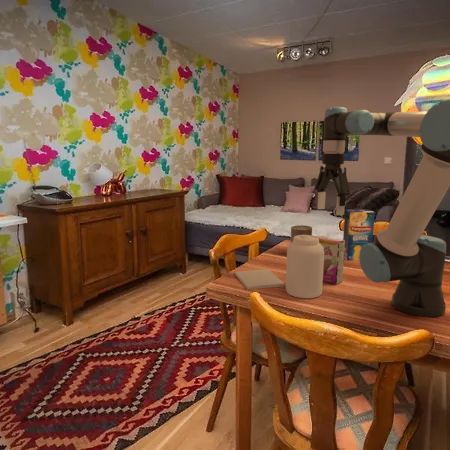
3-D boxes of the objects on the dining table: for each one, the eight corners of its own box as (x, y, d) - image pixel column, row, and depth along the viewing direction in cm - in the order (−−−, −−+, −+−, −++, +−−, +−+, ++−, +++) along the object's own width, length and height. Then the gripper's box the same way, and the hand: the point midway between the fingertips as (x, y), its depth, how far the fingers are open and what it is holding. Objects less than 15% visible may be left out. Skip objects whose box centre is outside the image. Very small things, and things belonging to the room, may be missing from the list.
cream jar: (283, 285, 136) (285, 232, 132) (317, 286, 135) (320, 232, 131) (287, 299, 123) (290, 241, 119) (325, 299, 123) (329, 241, 119)
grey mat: (284, 286, 135) (284, 283, 135) (247, 289, 132) (247, 286, 132) (267, 271, 151) (267, 269, 151) (234, 274, 148) (234, 271, 148)
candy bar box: (309, 278, 143) (311, 237, 140) (316, 275, 147) (318, 235, 144) (336, 285, 136) (339, 242, 132) (342, 282, 139) (345, 239, 136)
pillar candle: (314, 254, 175) (315, 223, 172) (306, 259, 167) (308, 227, 164) (294, 252, 180) (295, 221, 178) (286, 256, 172) (287, 225, 169)
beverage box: (371, 260, 167) (375, 212, 162) (346, 260, 166) (350, 212, 162) (365, 256, 173) (368, 209, 169) (341, 256, 173) (344, 209, 169)
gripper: (363, 153, 121) (358, 217, 125) (325, 152, 145) (322, 206, 149) (343, 153, 119) (339, 218, 123) (307, 152, 143) (305, 207, 147)
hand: (330, 211), depth 136 cm, fingers open, 13 cm apart
